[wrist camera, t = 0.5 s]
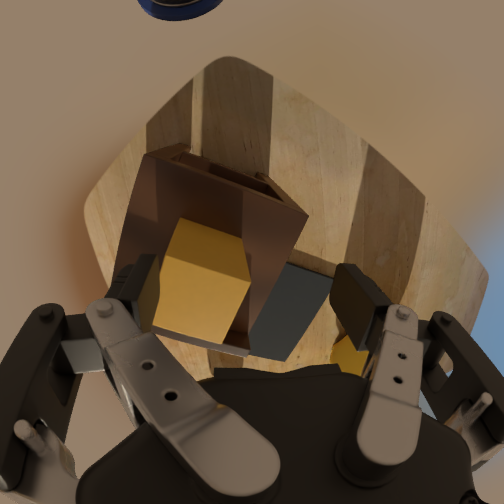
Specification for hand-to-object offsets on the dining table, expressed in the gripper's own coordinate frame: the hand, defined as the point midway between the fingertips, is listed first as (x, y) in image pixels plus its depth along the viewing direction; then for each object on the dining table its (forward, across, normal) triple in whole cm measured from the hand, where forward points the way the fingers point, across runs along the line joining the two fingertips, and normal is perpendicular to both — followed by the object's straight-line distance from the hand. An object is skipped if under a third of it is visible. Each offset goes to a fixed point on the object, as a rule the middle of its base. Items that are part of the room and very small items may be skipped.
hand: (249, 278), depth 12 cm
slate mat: (+24, -8, +20) cm, 33 cm away
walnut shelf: (+25, +2, +3) cm, 25 cm away
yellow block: (+8, +2, +3) cm, 8 cm away
